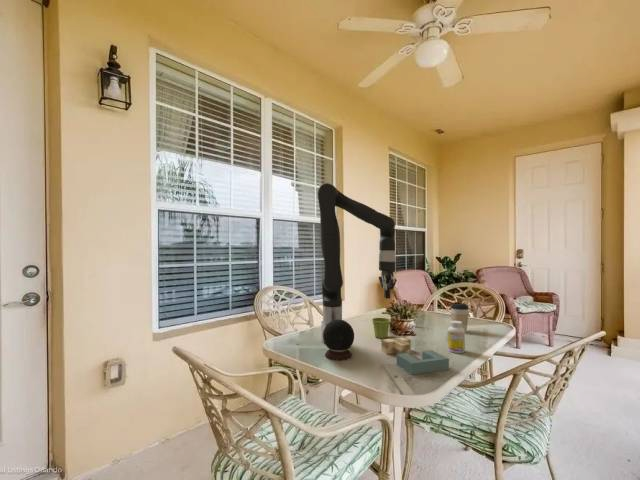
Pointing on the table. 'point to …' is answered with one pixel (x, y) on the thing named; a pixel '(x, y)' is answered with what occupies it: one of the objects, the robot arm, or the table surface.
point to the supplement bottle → (456, 337)
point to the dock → (423, 362)
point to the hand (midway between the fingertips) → (387, 298)
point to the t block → (396, 345)
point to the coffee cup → (460, 314)
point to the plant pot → (381, 327)
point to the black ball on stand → (338, 340)
